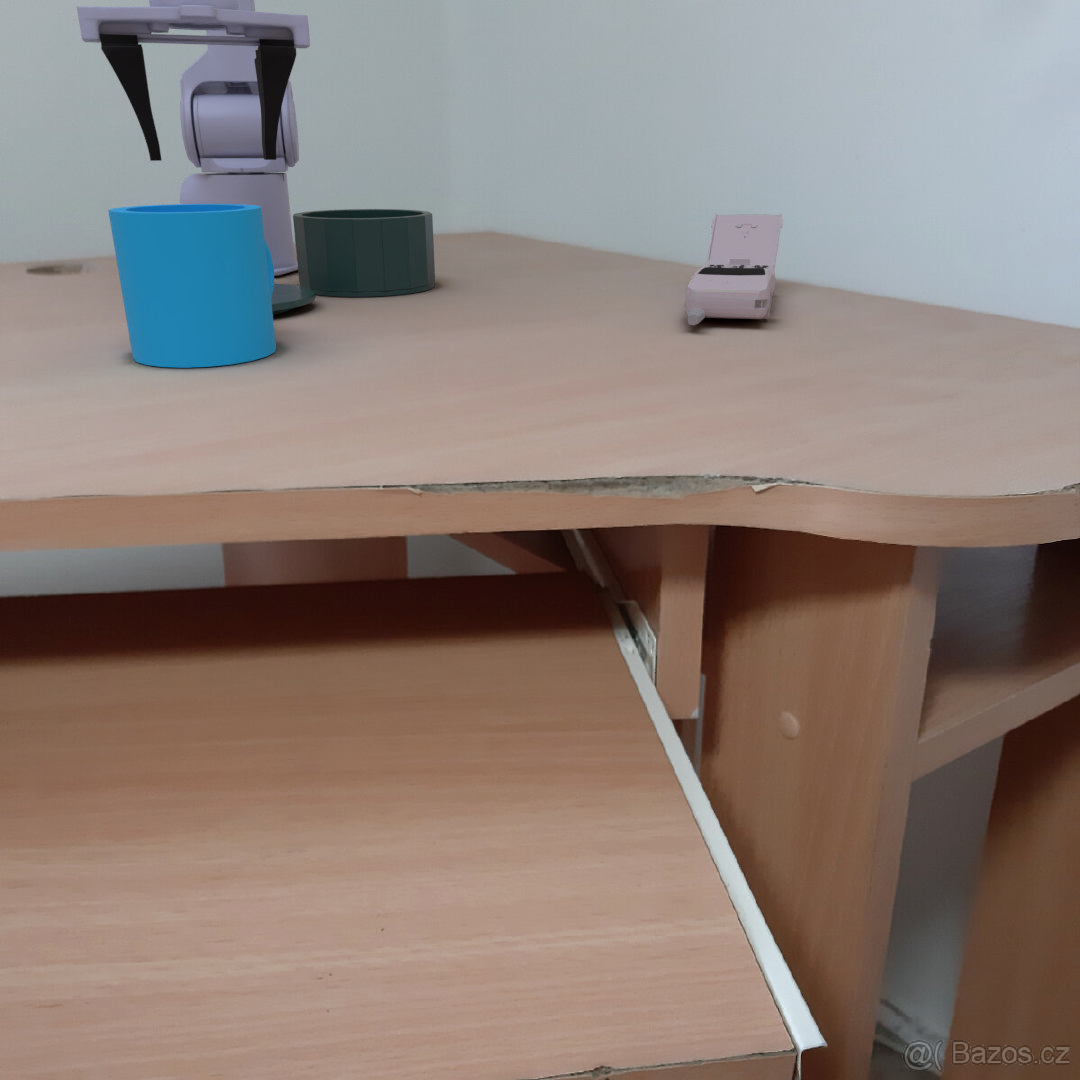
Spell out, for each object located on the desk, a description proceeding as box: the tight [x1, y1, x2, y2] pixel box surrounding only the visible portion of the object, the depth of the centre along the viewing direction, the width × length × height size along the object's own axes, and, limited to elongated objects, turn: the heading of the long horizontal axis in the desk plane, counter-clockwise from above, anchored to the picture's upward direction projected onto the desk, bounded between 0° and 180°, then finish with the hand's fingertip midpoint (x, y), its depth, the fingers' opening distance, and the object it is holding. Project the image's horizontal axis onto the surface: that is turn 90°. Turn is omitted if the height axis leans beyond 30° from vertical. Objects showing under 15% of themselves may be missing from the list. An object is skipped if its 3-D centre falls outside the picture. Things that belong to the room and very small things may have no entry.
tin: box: [292, 208, 436, 298], centre depth 81 cm, size 11×11×6 cm
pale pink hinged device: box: [684, 213, 784, 326], centre depth 72 cm, size 6×6×25 cm
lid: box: [271, 283, 316, 316], centre depth 71 cm, size 12×12×4 cm
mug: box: [107, 203, 277, 369], centre depth 57 cm, size 12×8×8 cm
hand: (214, 160), depth 67 cm, fingers open, 7 cm apart
